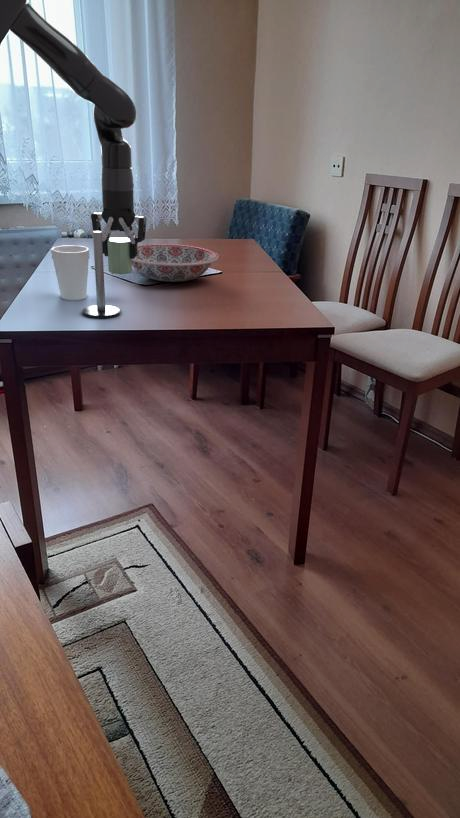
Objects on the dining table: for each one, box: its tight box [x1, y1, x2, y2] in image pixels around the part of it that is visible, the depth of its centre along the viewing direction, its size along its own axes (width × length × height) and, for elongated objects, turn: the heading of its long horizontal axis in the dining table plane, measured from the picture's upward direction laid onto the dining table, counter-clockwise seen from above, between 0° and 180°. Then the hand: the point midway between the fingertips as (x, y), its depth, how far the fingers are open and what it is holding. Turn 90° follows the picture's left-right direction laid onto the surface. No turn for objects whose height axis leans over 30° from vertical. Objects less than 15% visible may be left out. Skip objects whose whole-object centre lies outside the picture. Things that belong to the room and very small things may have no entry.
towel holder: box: [82, 230, 121, 320], centre depth 133 cm, size 9×9×20 cm
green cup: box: [107, 236, 133, 275], centre depth 142 cm, size 6×6×8 cm
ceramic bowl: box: [132, 243, 219, 283], centre depth 170 cm, size 29×29×8 cm
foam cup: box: [50, 244, 91, 301], centre depth 146 cm, size 10×9×13 cm
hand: (120, 256), depth 142 cm, fingers closed on green cup, 6 cm apart
